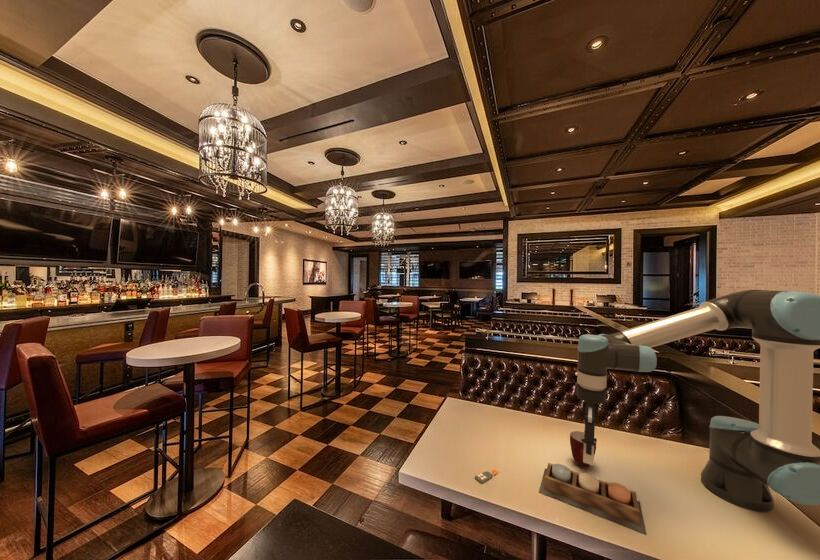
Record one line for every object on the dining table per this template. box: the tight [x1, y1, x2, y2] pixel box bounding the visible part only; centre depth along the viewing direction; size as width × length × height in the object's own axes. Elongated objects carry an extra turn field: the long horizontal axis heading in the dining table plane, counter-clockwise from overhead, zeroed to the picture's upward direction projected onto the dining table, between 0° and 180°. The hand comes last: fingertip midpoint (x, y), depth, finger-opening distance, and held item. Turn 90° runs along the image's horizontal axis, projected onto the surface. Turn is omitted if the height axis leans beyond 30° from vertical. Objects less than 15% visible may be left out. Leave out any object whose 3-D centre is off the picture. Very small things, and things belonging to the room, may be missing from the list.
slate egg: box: [552, 463, 571, 484], centre depth 91 cm, size 5×5×3 cm
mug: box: [569, 430, 597, 469], centre depth 101 cm, size 10×8×10 cm
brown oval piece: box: [608, 482, 630, 506], centre depth 83 cm, size 5×5×3 cm
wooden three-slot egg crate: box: [538, 462, 647, 536], centre depth 87 cm, size 26×13×4 cm, turn 57°
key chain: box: [474, 469, 502, 485], centre depth 96 cm, size 13×4×2 cm, turn 122°
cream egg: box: [579, 472, 600, 494], centre depth 87 cm, size 5×5×3 cm
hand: (588, 462), depth 87 cm, fingers closed
